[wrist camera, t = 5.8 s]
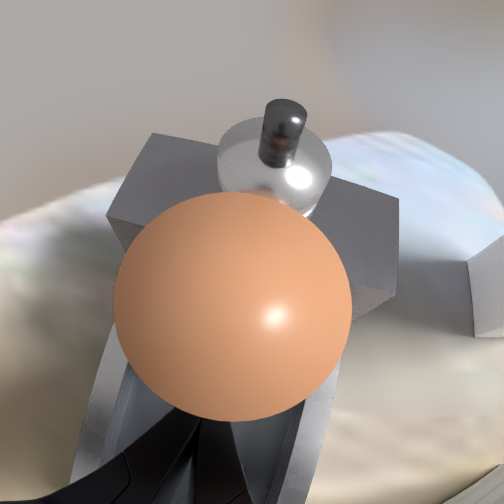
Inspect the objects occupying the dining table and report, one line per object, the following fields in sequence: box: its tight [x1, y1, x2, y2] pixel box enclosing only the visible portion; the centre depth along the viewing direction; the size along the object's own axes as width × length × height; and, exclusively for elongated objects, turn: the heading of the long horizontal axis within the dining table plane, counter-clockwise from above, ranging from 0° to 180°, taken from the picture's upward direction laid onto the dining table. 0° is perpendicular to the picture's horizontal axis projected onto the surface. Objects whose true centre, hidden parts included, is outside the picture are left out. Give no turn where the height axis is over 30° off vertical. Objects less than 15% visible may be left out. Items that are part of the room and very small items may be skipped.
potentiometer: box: [217, 99, 332, 220], centre depth 9 cm, size 3×3×4 cm
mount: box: [69, 133, 399, 504], centre depth 11 cm, size 20×10×8 cm, turn 166°
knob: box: [113, 192, 352, 422], centre depth 10 cm, size 5×6×9 cm
